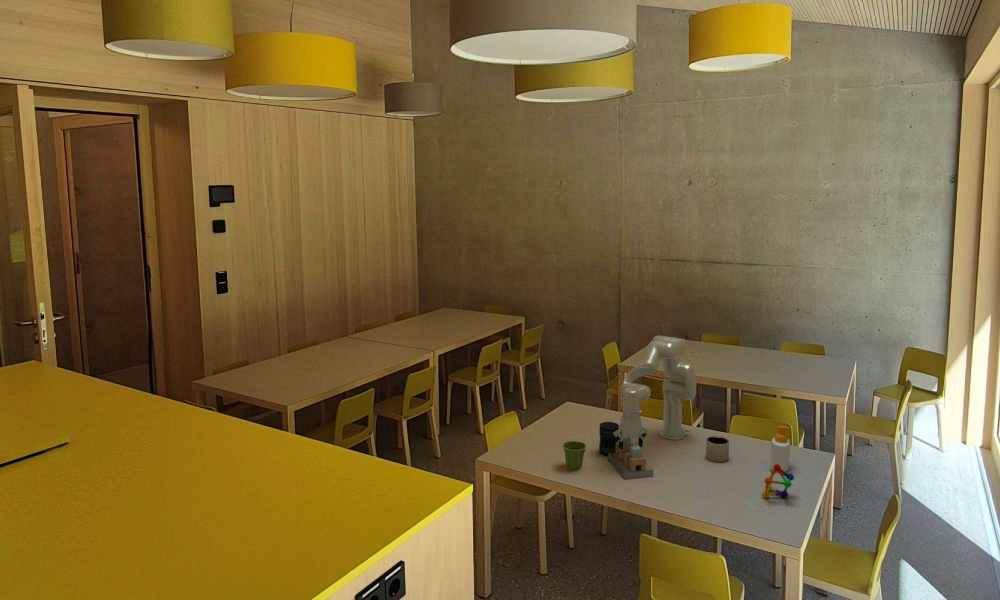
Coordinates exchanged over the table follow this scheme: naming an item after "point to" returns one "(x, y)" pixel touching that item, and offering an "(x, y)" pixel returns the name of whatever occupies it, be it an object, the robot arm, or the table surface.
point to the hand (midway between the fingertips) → (630, 447)
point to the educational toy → (777, 482)
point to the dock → (625, 470)
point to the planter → (717, 449)
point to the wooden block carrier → (630, 458)
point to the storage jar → (608, 438)
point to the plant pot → (574, 454)
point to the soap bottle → (780, 449)
